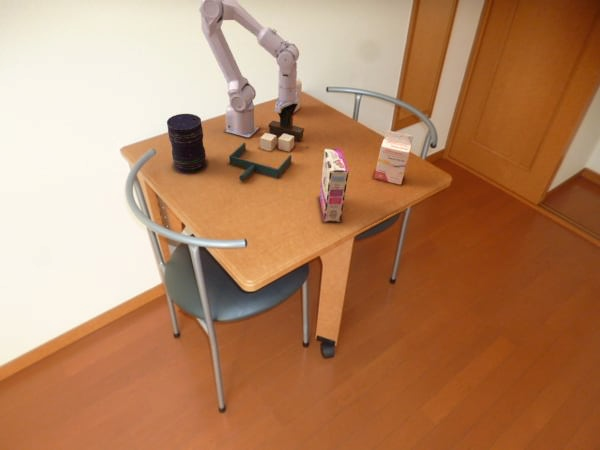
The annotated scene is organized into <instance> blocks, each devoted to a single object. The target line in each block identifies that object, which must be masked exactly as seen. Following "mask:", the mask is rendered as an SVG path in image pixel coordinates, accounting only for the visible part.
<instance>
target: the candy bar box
mask: <svg viewBox="0 0 600 450" xmlns="http://www.w3.org/2000/svg"><path fill="white" fill-rule="evenodd" d="M349 173H350V171H349V168H348V165H347V162H346V159H345V155H344V153H343V149H342V148H324V152H323V162H322V169H321V180H320V188H319V189H320V190H319V197H318V198H319V202H320V208H321V214H322V218H323V222H324V223H340V222H342V216H343V208H344V203H345V197H346V192H347V185H348V179H349Z"/></svg>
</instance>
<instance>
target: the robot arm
mask: <svg viewBox="0 0 600 450" xmlns="http://www.w3.org/2000/svg"><path fill="white" fill-rule="evenodd" d="M198 11H199V13H200V20H201V21H200V27H201V31H202V33H203V36H204V37H205V39H206V42H207V43H208V46H209V47H210V49H211V52H212V54H213V56H214V58H215V60H216V62H217V65H218V67H219V68H220V71H221V73H222V74H223V77H224V79H225V81H226V83H227V95H228V98H229V104H228V105H227V106H226V110H225V124H226V125H225V126H226V129H225V133H229V134H233V135H237V136H240V137H243V138H248V139H249V138H251V137H252V136H253V135H254V134H255V133H256V132H257V131H259V129H260V127H259V126H256V125H255V104H254V100H255V98H256V96H257V92H256V89H255V87H254V86H253V85H252V84H251V83H250V81H249V80H248V78H246V77H244V75H243V74H242V72H241V69H240V68H239V66H238V63H237V62H236V59H235V57H234V54H233V52H232V50H231V48H230V46H229V43H228V41H227V39H226V37H225V35H224V32H223V30H222V25H223V22H224V21H235V22H237V23H238V24H239V25H240V26H242V27H243V28H244V29H245V30H247V31H248V32H249V33H251V34H252V35H253V36H255V38H256V40H257V44H258V45H259V46H260V47H262V48H263V49H264V50H265V51H266V52H267V53H268V54H270V55H271V56H272V58H274V59H275V61H276V64H277V66H278V85H277V86H278V87H277V88H278V93H277V95H278V96H277V98H276V99H277V100H276V103H275V105H274V113H278V116H279V121H280V120H281V124H282V125H283V126H288V124H289V118H290V114H293V115H294V113H295V112H296V111H295V108H296V107H297V105H298V102H299V100H298V99H297V97H298V92H299V91H296V79H298V77H297V76H298V70H297V68H298V62H297V61H299V57H300V51H299V49H298V47H297V45H295V43H292V42H289V41H288V40H285V39H284V38H282V36H280V35H279V34H278V33H277V32H278V30H276V29H275V28H271V27H268V26H267V27H264V26H263V25H262V24H261V23H259V22H258V20H257V19H255V18H254V17H253V15H252V14H251V13H250V12H248V11H247V10H246V8H244V7H243V6H242V5H241V4H240V3H239V1H238V0H202V1H201V3H200V5H199V8H198ZM294 111H295V112H294Z"/></svg>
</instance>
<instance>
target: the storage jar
mask: <svg viewBox="0 0 600 450" xmlns="http://www.w3.org/2000/svg"><path fill="white" fill-rule="evenodd" d="M166 125H167V134H168V139H169V142H170V143H171V148H172V149H171V156H172V161H173V164H174V168H175V170H176V171H177V172H178V173H181V174H185V175H190V174H191V175H192V174H196V173H197V174H198V173H199V172H202V171H203V170H204V169H206V168H207V155H206V149H205V146H204V141H203V140H204V131H203V129H204V128H203V126H202V125H203V124H202V119H201V117H200V116H198V115H196V114H193V113H179V114H174V115H172V116H170V117H169V118H168V119H167V121H166Z"/></svg>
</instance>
